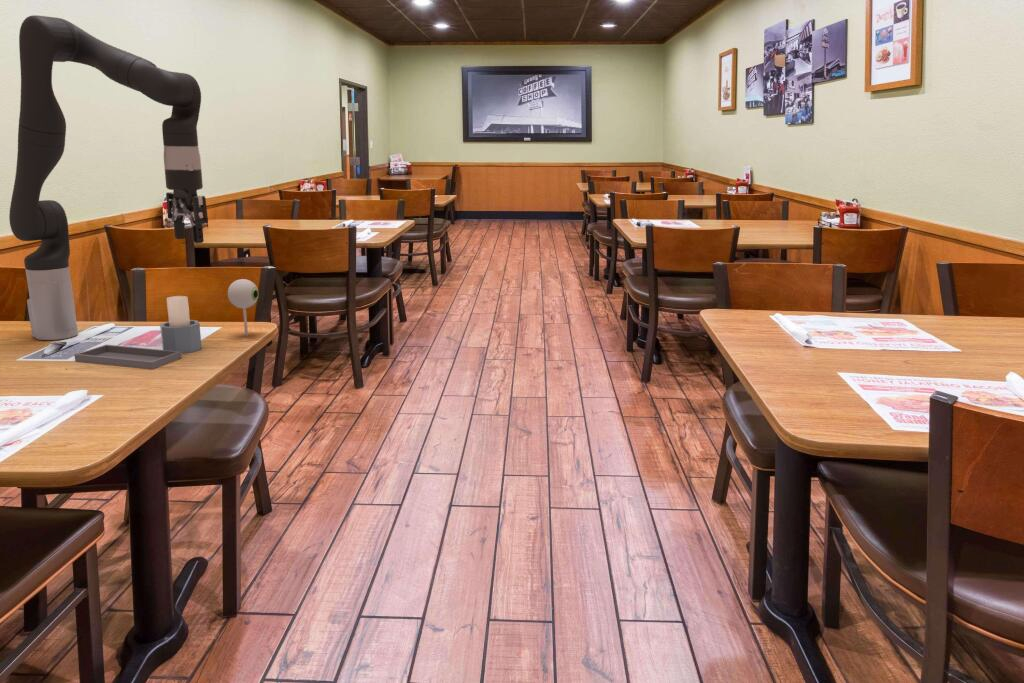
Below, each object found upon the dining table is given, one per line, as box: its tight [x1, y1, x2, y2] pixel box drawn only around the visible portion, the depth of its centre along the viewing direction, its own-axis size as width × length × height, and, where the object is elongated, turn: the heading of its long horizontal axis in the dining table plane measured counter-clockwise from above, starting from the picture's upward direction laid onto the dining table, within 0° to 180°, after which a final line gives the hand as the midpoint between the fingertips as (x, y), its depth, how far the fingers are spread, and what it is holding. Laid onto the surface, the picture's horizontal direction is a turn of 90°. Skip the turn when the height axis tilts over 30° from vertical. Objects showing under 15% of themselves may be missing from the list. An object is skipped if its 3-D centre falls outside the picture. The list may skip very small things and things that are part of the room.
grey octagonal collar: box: [159, 319, 203, 355], centre depth 177 cm, size 8×8×7 cm
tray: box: [74, 344, 182, 370], centre depth 169 cm, size 20×9×2 cm, turn 74°
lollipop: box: [227, 278, 260, 337], centre depth 189 cm, size 7×7×15 cm
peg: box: [166, 295, 191, 327], centre depth 176 cm, size 4×4×12 cm
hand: (189, 240), depth 175 cm, fingers open, 8 cm apart
